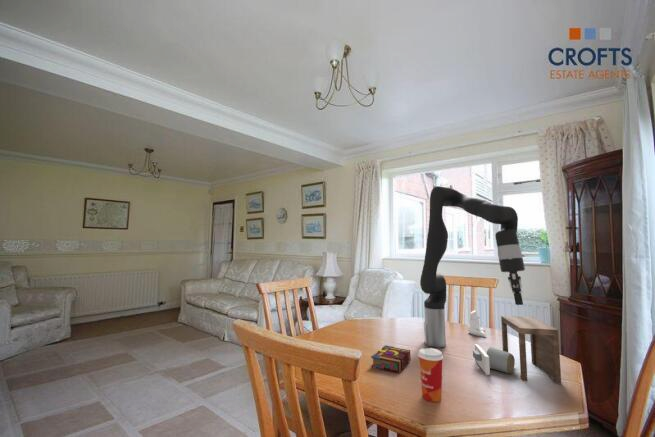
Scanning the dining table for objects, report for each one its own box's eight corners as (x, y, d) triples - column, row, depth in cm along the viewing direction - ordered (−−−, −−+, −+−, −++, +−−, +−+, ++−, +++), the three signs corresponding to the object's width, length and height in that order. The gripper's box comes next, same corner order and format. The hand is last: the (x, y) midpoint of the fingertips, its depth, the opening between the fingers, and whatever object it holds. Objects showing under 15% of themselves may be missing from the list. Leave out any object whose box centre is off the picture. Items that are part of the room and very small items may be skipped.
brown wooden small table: (522, 380, 106) (520, 328, 107) (503, 360, 123) (501, 315, 125) (561, 383, 103) (558, 329, 105) (535, 363, 121) (533, 317, 123)
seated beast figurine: (486, 337, 153) (485, 313, 154) (467, 335, 157) (466, 312, 158) (485, 332, 162) (484, 309, 163) (467, 330, 166) (467, 308, 167)
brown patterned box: (411, 361, 124) (411, 348, 125) (398, 375, 111) (398, 361, 111) (385, 355, 130) (385, 343, 131) (369, 369, 117) (369, 355, 117)
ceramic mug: (509, 376, 109) (508, 354, 110) (485, 369, 115) (484, 349, 116) (518, 368, 116) (517, 348, 117) (495, 362, 122) (494, 343, 123)
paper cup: (415, 392, 98) (414, 347, 99) (438, 391, 99) (436, 346, 100) (425, 405, 90) (423, 356, 91) (449, 403, 91) (448, 355, 92)
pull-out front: (480, 374, 110) (479, 356, 111) (470, 359, 124) (469, 343, 124) (489, 375, 110) (489, 356, 110) (478, 360, 123) (477, 344, 124)
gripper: (499, 261, 118) (507, 304, 114) (497, 257, 106) (506, 305, 102) (522, 259, 114) (531, 303, 110) (522, 255, 103) (532, 304, 98)
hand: (519, 304), depth 106 cm, fingers open, 8 cm apart
